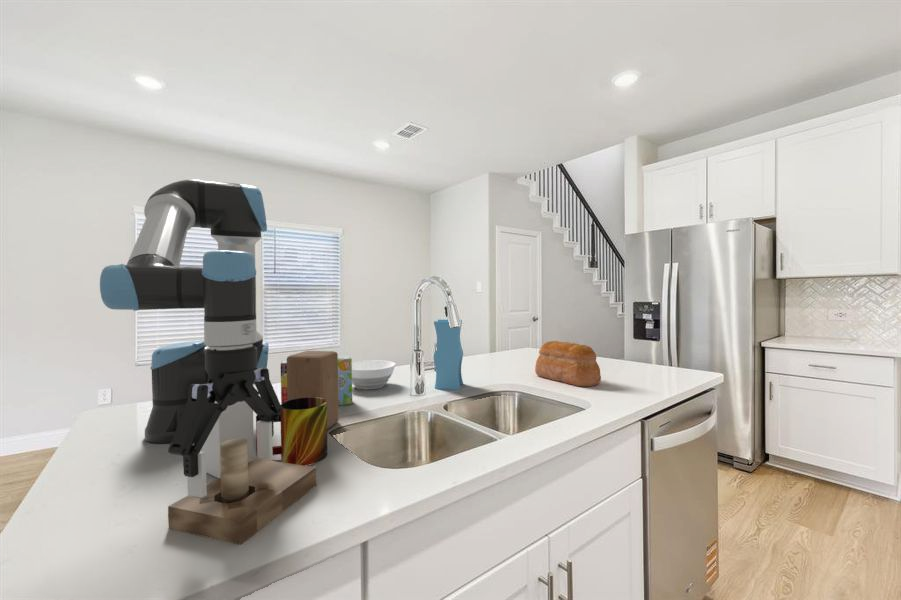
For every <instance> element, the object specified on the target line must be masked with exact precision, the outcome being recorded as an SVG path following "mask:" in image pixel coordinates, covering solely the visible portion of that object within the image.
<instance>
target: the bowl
mask: <svg viewBox="0 0 901 600" xmlns="http://www.w3.org/2000/svg"><path fill="white" fill-rule="evenodd" d="M395 367H396V362H393V361H390V360H384V359H383V360H381V359H378V360H377V359H371V360H370V359H368V360H367V359H366V360H358V361H352V386H354V388H356V389H358V390H364V391H365V390H366V391H367V390H369V391H370V390H376V389H382V388H384V387H385V385H386V384H387V383H388V382H389V379H390V378H391V377H392V375H393V374H394V371H395Z"/></svg>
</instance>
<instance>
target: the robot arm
mask: <svg viewBox="0 0 901 600" xmlns="http://www.w3.org/2000/svg"><path fill="white" fill-rule="evenodd" d="M143 210H144V211H143V214H144V216H145V220H144V222H143V225H142V228H141V230H140V232H139V235H138V236H137V239H136V241H135V243H134V246H133V249H132V251H131V254H130V256H129V257H128V260H127V263H126V264H124V263H121V264H110V265H106V266H104V267H103V269H102V270H101V273H100V277H99V278H100V279H99V293H100V296H101V297H100V298H101V301H102V303H103V305H104V306H105V307H106V308H107V309H111V310H116V311H118V310H120V311H121V310H123V311H124V310H125V311H127V310H128V311H131V310H132V311H134V312H136V311H145V310H148V311H149V310H151V311H152V310H169V309H204V310H203V311H204V313H203V314H204V317H203V339H204V340H202V339H201V340H192V341H184V342H179V343H174V344H169V345H165V346H161V347H159V348H157V349H155V350H154V351H153V352H152V354H151V366H150V370H151V389H152V390H151V391H152V394H151V395H152V409H151V411H150V414H149V417H148V420H147V424H146V427H145V428H144V440H145V441H146V442H147V443H148V442H149V443H151V444H168V443H170V444H169V447H168V451H167V452H168V453H169V454H170V455H176V456H182V460H183V461H182V462H183V463H182V464H183V468H182V469H183V475H184V477H187V496H188V495H191V496H197V497H204V496H206V495H207V486H206V485H207V473H206V452H203V451H201V449H202V447H203V445H204V443H205V442H206V440H207V438H208V436H209V434H210V433H211V431H212V429H213V427H214V425H215V423H216V422H217V420H218V418H219V416H220V414H221V413H222V412H223V411H225V410H226V408H227V407H228V406H231V405H233V404H235V403H237V402H242V401H245V402H246V403H247V404H248V405H249V406H250V408H251V409H252V410H253V413H254V414H256V416H257V415H258V416H259V417H260V419H262V421H257V456H256V457H257V458H258V459H265V460H271V459H272V458H274V457H273V456H274V455H273V450H272V447H273V437H274V435H275V434H274V433H275V429H274V426H275V425H274V423H275V422H274V421H277V420H278V419H279V415H278V414H281V413H282V407H281V401H280V400H279V398H278V396H277V393H276V391H275V389H274V387H273V383H272V381H271V380H270V372H269V371H270V370H269V368H267V367H268V359H269V349H270V348H269V343H268V342H267V341H263V340H264V339H263V338H264V337H263V335H262V334H261V333H260V332H259V331H258V330H257V277H256V276H257V268H256V244H257V243H258V242H259V241H260V240H261V239H262V233H264V232H267V230H268V225H267V216H266V210H265V202H264V198H263V194H262V191H261V189H260V188H258V187H257V186H254V185H249V184H243V183H233V182H232V183H231V182H223V181H221V182H220V181H210V180H209V181H208V180H200V179H184V180H178V181H173V182H172V183H171V182H170V183H169V184H167V185H164V186H163V187H160V188H159V189H157V190H156V191H154V192H153V193H152V194H151V195H150V196H149V198H148V199H147V201H146V203H145V205H144V209H143ZM192 228H200V229H209V230H210V237H212V239H213V240H215V241H216V242H217V250H209V251H207V252H205V253H204V254H203V257H202V266H201V265H200V266H199V265H198V266H197V265H196V266H194V265H192V266H191V265H187V266H185V265H181V261H182V256H183V252H184V248H185V243H186V239H187V234H188V232H189V230H191V229H192ZM254 385H255V386H254ZM207 397H208V398H207ZM215 401H216V402H217V403H214V402H215Z"/></svg>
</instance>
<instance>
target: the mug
mask: <svg viewBox="0 0 901 600" xmlns="http://www.w3.org/2000/svg"><path fill="white" fill-rule="evenodd" d="M280 405H281V407H282V413H281V414H278V415H279V419H278V420H277V421H274V423H278V422H279V423H280V445H278V446H276V445H275V446H272V450H273V456H275V455H280V457H281V461H280V462H283V463H290V464H297V465H304V466H310V465H311V466H312V465H314V464H317V463H320V462H322V461H323V460H325V459H326V457H328V429H327V401H326V400H325V399H323V398H318V397H306V398H298V399H293V400H289V401H286V402H284V403H282V404H281V403H280ZM257 421H262V419H260V417H259V416H258V415H257V414H256V416H255V425H256V426H255V430H256V431H255V433H256V434H255V435H256V439H255V456H256V457H257Z"/></svg>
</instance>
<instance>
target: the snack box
mask: <svg viewBox="0 0 901 600" xmlns="http://www.w3.org/2000/svg"><path fill="white" fill-rule="evenodd" d="M352 360H353V359H352V357H351V356H350V355H347V356H345V355H344V356H338V407H339V406H346V405H347V406H349V405H353V384H352V362H353V361H352ZM280 362H281V363H280V400H281V401H280V405H281V404H282V403H284V402H286V401H287V359H286V360H284V359H283V360H281V361H280Z"/></svg>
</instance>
